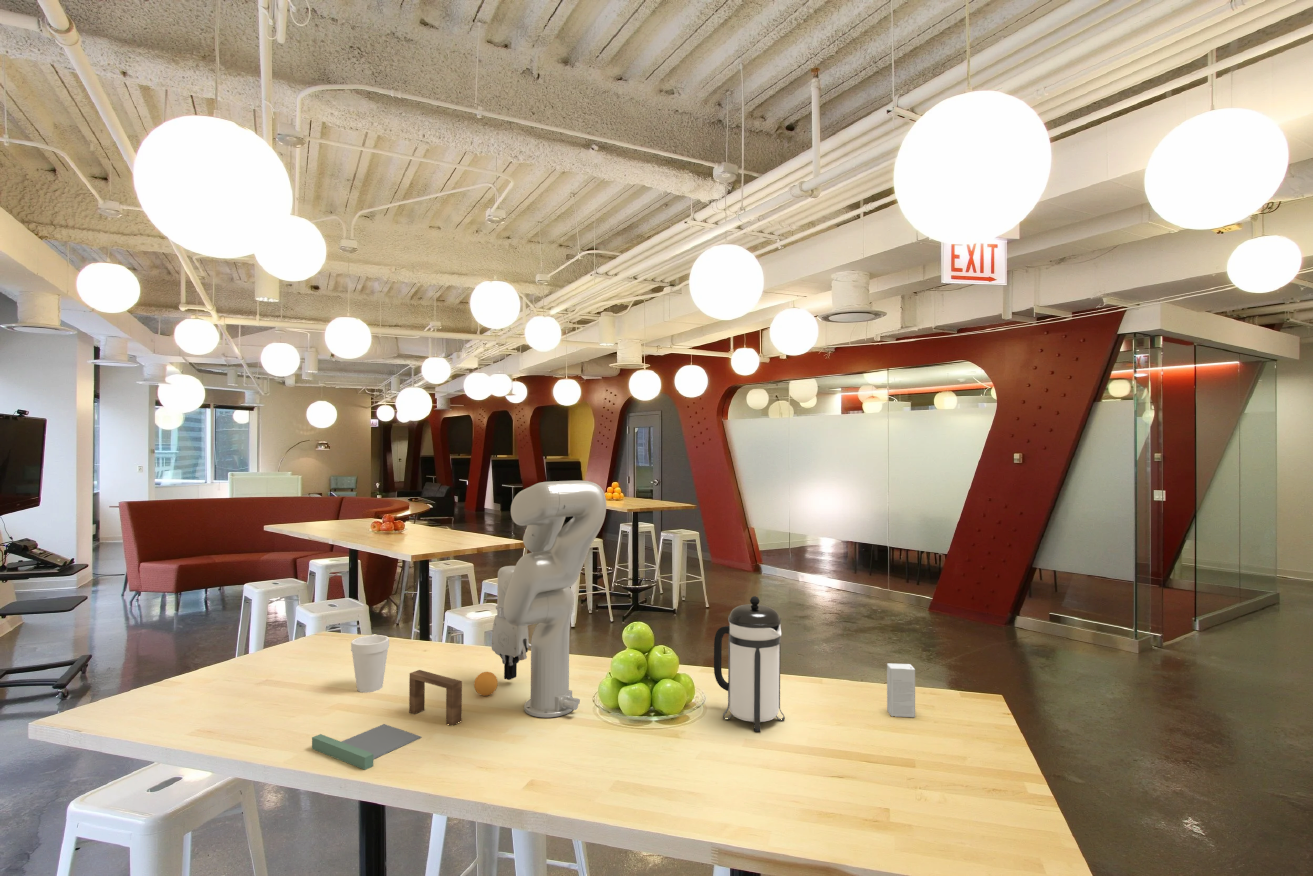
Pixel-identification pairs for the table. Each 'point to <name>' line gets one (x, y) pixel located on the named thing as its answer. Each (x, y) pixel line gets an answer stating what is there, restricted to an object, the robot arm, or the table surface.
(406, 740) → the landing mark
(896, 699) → the skincare box
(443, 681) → the bridge
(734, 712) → the coffee press
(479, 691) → the ball
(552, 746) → the table surface
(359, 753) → the stopper wall
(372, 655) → the foam cup
